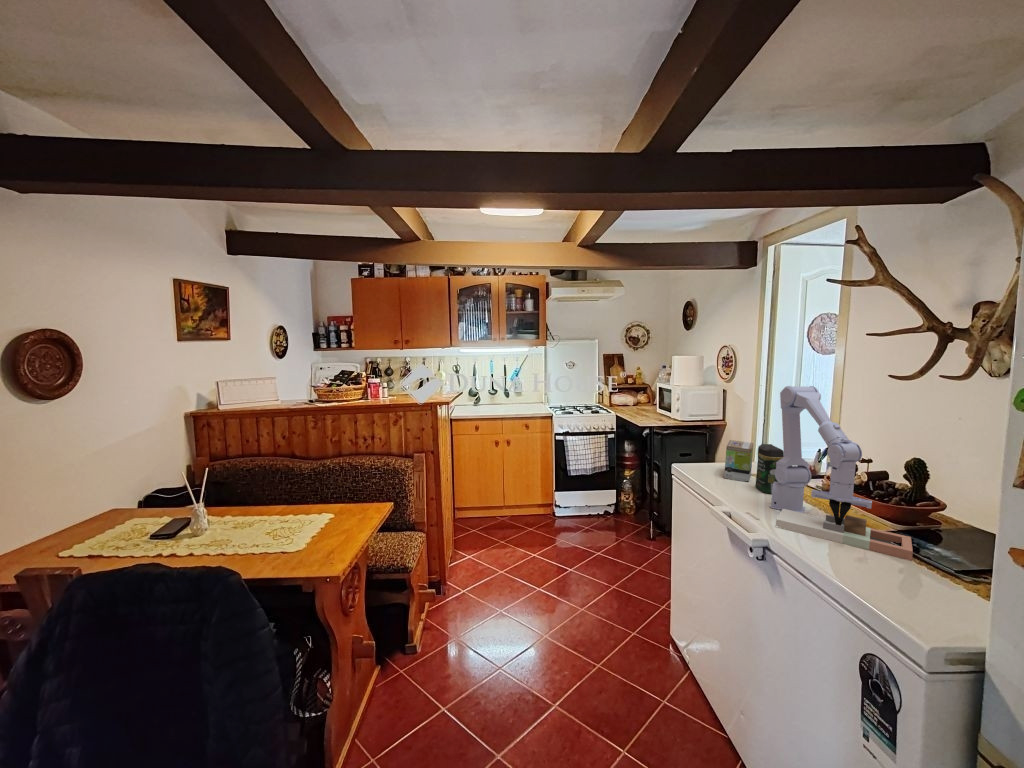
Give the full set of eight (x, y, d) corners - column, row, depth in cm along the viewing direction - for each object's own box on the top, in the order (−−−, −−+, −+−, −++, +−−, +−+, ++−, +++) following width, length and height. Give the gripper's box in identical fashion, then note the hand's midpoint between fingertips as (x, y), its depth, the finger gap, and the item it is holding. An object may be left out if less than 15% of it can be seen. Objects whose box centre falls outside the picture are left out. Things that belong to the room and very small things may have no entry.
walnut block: (843, 531, 128) (844, 519, 128) (844, 525, 132) (845, 515, 132) (865, 536, 125) (866, 524, 125) (865, 530, 129) (866, 519, 128)
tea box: (749, 482, 181) (751, 448, 180) (723, 478, 187) (725, 445, 185) (751, 473, 194) (753, 441, 193) (727, 470, 199) (728, 439, 198)
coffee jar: (752, 486, 177) (755, 442, 175) (772, 487, 176) (775, 442, 174) (762, 494, 167) (765, 447, 165) (784, 495, 166) (787, 448, 164)
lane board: (775, 526, 137) (776, 513, 137) (782, 515, 146) (783, 503, 146) (911, 560, 116) (913, 545, 116) (909, 545, 125) (911, 531, 125)
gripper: (811, 479, 132) (808, 522, 133) (872, 490, 122) (868, 536, 123) (814, 474, 137) (811, 515, 138) (873, 484, 127) (869, 528, 129)
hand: (838, 524), depth 131 cm, fingers closed
